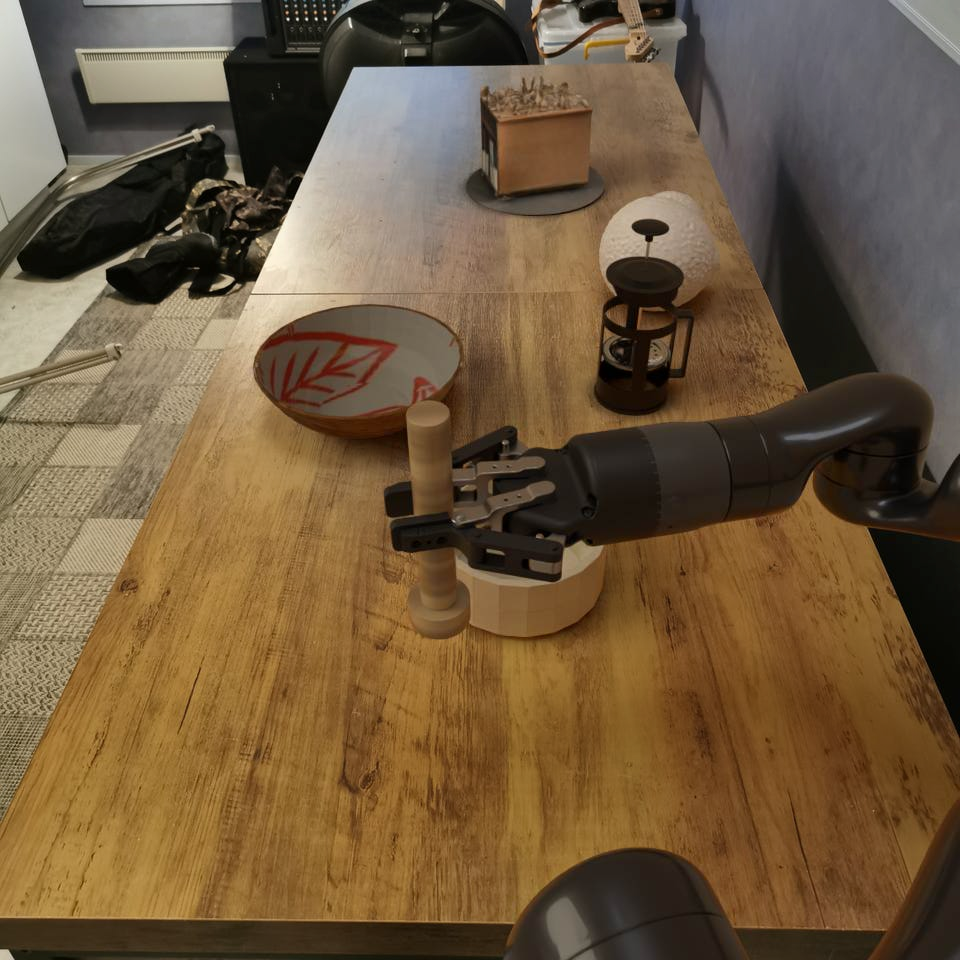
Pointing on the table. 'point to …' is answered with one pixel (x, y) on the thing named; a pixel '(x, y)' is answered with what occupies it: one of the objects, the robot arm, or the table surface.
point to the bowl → (358, 368)
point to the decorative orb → (665, 241)
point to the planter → (535, 151)
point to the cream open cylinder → (533, 592)
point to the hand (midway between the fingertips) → (389, 518)
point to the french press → (635, 348)
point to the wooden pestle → (438, 592)
